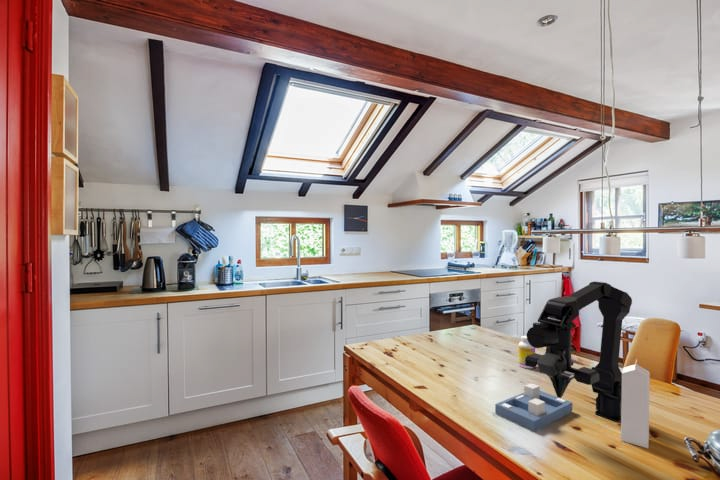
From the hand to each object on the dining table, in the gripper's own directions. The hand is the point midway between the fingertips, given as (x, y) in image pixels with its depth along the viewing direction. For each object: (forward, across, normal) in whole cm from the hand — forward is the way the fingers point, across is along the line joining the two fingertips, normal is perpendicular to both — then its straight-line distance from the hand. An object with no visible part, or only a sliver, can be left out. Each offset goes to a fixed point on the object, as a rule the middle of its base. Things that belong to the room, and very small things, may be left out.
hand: (559, 397), depth 106 cm
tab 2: (+9, -7, 0) cm, 11 cm away
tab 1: (+9, -14, +10) cm, 19 cm away
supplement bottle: (+10, -36, +42) cm, 57 cm away
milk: (+10, +14, +13) cm, 22 cm away
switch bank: (+10, -10, +5) cm, 15 cm away
